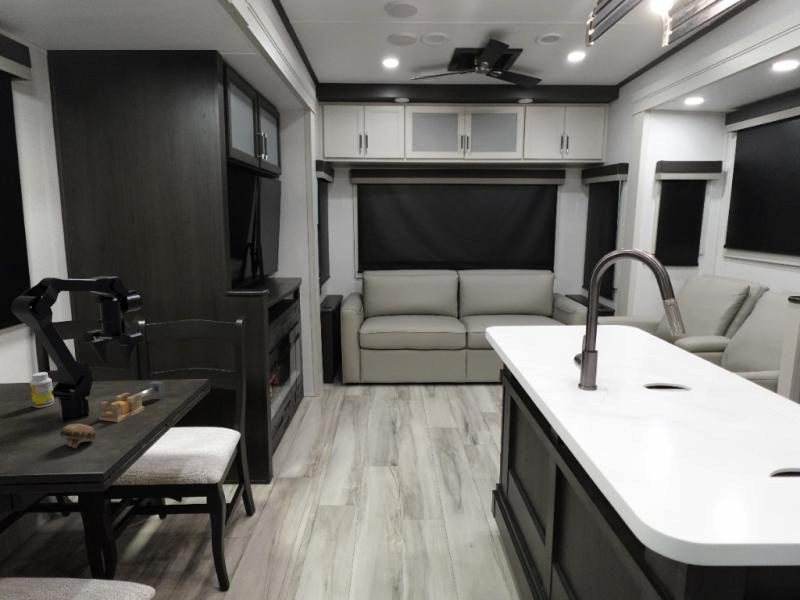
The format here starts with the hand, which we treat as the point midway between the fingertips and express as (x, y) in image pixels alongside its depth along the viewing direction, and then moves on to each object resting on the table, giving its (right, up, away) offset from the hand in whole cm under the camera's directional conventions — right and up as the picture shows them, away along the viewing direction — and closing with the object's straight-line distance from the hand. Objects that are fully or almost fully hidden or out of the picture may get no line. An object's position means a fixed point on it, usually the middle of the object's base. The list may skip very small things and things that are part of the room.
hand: (115, 362), depth 162 cm
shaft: (+12, -11, -3) cm, 16 cm away
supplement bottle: (-21, -13, -4) cm, 25 cm away
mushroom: (+9, -17, -32) cm, 37 cm away
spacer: (+9, -13, -13) cm, 20 cm away
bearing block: (+9, -14, -12) cm, 20 cm away
